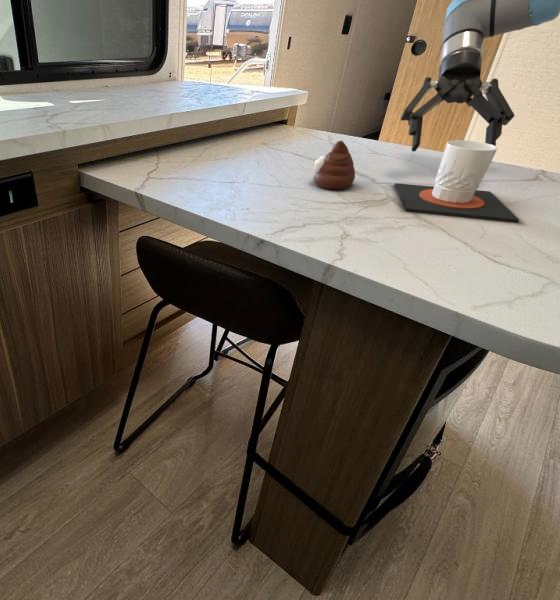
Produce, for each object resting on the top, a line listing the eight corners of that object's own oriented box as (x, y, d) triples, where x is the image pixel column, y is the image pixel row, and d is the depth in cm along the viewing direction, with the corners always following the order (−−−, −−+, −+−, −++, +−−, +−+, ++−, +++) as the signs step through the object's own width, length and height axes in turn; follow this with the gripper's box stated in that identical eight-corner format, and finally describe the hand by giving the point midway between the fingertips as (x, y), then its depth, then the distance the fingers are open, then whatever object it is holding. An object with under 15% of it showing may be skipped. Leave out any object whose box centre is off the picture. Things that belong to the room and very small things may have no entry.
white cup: (473, 195, 83) (496, 143, 77) (475, 207, 77) (499, 152, 72) (429, 188, 86) (447, 138, 81) (427, 200, 80) (446, 146, 75)
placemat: (488, 194, 86) (490, 189, 86) (518, 222, 73) (520, 217, 73) (394, 185, 91) (395, 181, 90) (405, 211, 78) (407, 206, 78)
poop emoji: (346, 193, 86) (358, 147, 81) (305, 186, 90) (314, 142, 85) (356, 181, 93) (368, 137, 88) (318, 175, 97) (327, 133, 92)
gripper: (517, 76, 90) (511, 164, 86) (392, 74, 97) (381, 155, 93) (539, 49, 83) (534, 143, 79) (402, 48, 90) (391, 135, 86)
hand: (451, 150), depth 86 cm, fingers open, 13 cm apart
